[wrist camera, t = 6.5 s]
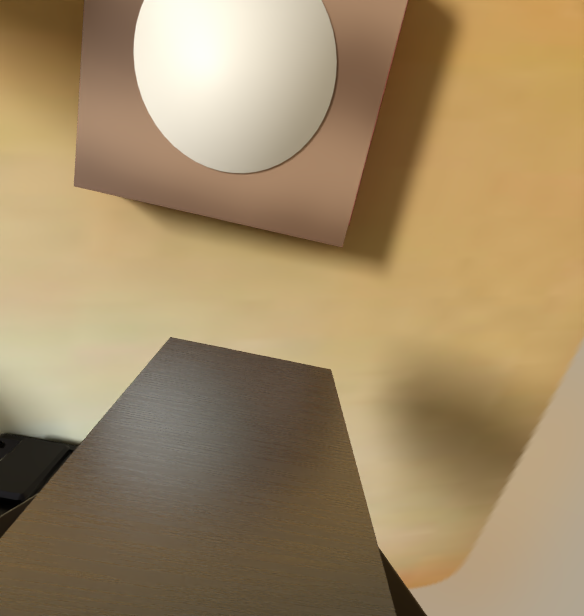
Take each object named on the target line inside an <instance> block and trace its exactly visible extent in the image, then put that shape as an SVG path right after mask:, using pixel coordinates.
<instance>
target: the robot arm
mask: <svg viewBox="0 0 584 616" xmlns="http://www.w3.org/2000/svg"><path fill="white" fill-rule="evenodd" d="M3 442H4V443H3ZM77 447H78V446H74V445H68V444H63V443H57V442H51V441H45V440H40V439H34V438H28V437H22V436H17V435H11V434H0V538H1V537H2V536H3V535H4V534H5V532H6V531H7V530H8V529H9V528H10V526H11V525H12V524H13V523H14V522H15V521H16V519H17V518H18V517H19V516H20V515H21V513H22V512H23V511H24V510H25V509H26V508H27V506H28V505H29V504H30V503H31V502H32V500H33V499H34V498H35V497H36V496H37V495H38V493H39V492H40V491H41V490H42V489H43V487H44V486H45V485H46V484H47V483H48V482H49V480H50V479H51V478H52V477H53V476H54V474H55V473H56V472H57V471H58V470H59V468H60V467H61V466H62V465H63V464H64V463H65V461H66V460H67V459H68V458H69V457H70V455H71V454H72V453H73V452H74V451H75V450H76V448H77ZM378 548H379V547H378ZM379 552H380V556H381V560H382V563H383V567H384V571H385V575H386V578H387V582H388V586H389V590H390V593H391V597H392V601H393V605H394V608H395V612H396V616H427V615H426V614H425V613H424V611H423V610H422V608H421V607H420V605H419V604H418V602H417V601H416V600H415V598H414V597H413V595H412V594H411V592H410V591H409V590H408V588H407V587H406V585H405V584H404V583H403V581H402V580H401V578H400V577H399V575H398V574H397V573H396V571H395V570H394V568H393V567H392V566H391V564H390V563H389V561H388V560H387V558H386V557H385V556H384V554H383V553H382V551H381V550H380V549H379Z"/></svg>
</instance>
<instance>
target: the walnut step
mask: <svg viewBox="0 0 584 616" xmlns="http://www.w3.org/2000/svg"><path fill="white" fill-rule="evenodd" d="M407 4H408V0H84V13H83V32H82V50H81V68H80V86H79V104H78V123H77V141H76V159H75V177H74V186H75V187H80V188H84V189H89V190H93V191H97V192H102V193H106V194H110V195H115V196H119V197H124V198H128V199H132V200H137V201H141V202H145V203H150V204H154V205H159V206H163V207H167V208H172V209H176V210H180V211H185V212H189V213H194V214H198V215H202V216H207V217H211V218H216V219H220V220H224V221H229V222H233V223H237V224H242V225H246V226H251V227H255V228H259V229H264V230H268V231H272V232H277V233H281V234H286V235H290V236H294V237H299V238H303V239H307V240H312V241H316V242H321V243H325V244H329V245H334V246H338V247H343V243H344V239H345V236H346V232H347V228H348V225H349V224H350V220H351V216H352V212H353V209H354V205H355V201H356V197H357V193H358V190H359V186H360V182H361V178H362V174H363V171H364V167H365V163H366V159H367V156H368V152H369V148H370V144H371V140H372V137H373V133H374V129H375V125H376V121H377V118H378V114H379V110H380V106H381V103H382V99H383V95H384V91H385V87H386V84H387V80H388V76H389V72H390V69H391V65H392V61H393V57H394V53H395V50H396V46H397V42H398V38H399V34H400V31H401V27H402V23H403V19H404V16H405V12H406V8H407Z"/></svg>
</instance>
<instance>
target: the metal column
mask: <svg viewBox="0 0 584 616" xmlns="http://www.w3.org/2000/svg"><path fill="white" fill-rule="evenodd" d="M0 616H396V612H395V608H394V605H393V601H392V597H391V593H390V590H389V586H388V582H387V578H386V575H385V571H384V567H383V563H382V560H381V556H380V552H379V548H378V545H377V541H376V537H375V533H374V529H373V526H372V522H371V518H370V514H369V511H368V507H367V503H366V499H365V496H364V492H363V488H362V484H361V481H360V477H359V473H358V469H357V466H356V462H355V458H354V454H353V450H352V447H351V443H350V439H349V435H348V432H347V428H346V424H345V420H344V417H343V413H342V409H341V405H340V402H339V398H338V394H337V390H336V387H335V383H334V379H333V375H332V371H331V369H326V368H321V367H316V366H311V365H306V364H301V363H296V362H291V361H286V360H281V359H276V358H271V357H266V356H261V355H256V354H251V353H247V352H242V351H237V350H232V349H227V348H222V347H217V346H212V345H207V344H202V343H197V342H192V341H187V340H182V339H177V338H172V337H170V338H169V340H168V341H167V342H166V343H165V344H164V345H163V347H162V348H161V349H160V350H159V351H158V353H157V354H156V355H155V356H154V357H153V358H152V360H151V361H150V362H149V363H148V364H147V366H146V367H145V368H144V369H143V370H142V371H141V373H140V374H139V375H138V376H137V377H136V379H135V380H134V381H133V382H132V383H131V384H130V386H129V387H128V388H127V389H126V390H125V392H124V393H123V394H122V395H121V396H120V397H119V399H118V400H117V401H116V402H115V403H114V405H113V406H112V407H111V408H110V409H109V411H108V412H107V413H106V414H105V415H104V416H103V418H102V419H101V420H100V421H99V422H98V424H97V425H96V426H95V427H94V428H93V429H92V431H91V432H90V433H89V434H88V435H87V437H86V438H85V439H84V440H83V441H82V442H81V444H80V445H79V446H78V447H77V448H76V450H75V451H74V452H73V453H72V454H71V455H70V457H69V458H68V459H67V460H66V461H65V463H64V464H63V465H62V466H61V467H60V468H59V470H58V471H57V472H56V473H55V474H54V476H53V477H52V478H51V479H50V480H49V482H48V483H47V484H46V485H45V486H44V487H43V489H42V490H41V491H40V492H39V493H38V495H37V496H36V497H35V498H34V499H33V500H32V502H31V503H30V504H29V505H28V506H27V508H26V509H25V510H24V511H23V512H22V513H21V515H20V516H19V517H18V518H17V519H16V521H15V522H14V523H13V524H12V525H11V526H10V528H9V529H8V530H7V531H6V532H5V534H4V535H3V536H2V537H1V538H0Z"/></svg>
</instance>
